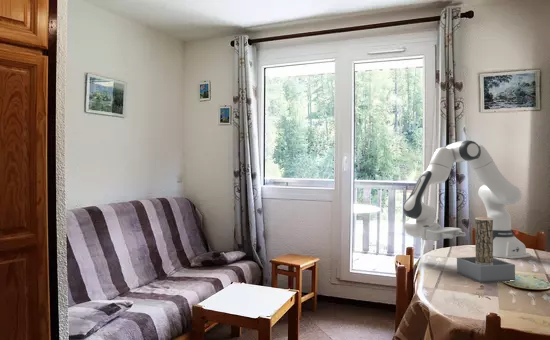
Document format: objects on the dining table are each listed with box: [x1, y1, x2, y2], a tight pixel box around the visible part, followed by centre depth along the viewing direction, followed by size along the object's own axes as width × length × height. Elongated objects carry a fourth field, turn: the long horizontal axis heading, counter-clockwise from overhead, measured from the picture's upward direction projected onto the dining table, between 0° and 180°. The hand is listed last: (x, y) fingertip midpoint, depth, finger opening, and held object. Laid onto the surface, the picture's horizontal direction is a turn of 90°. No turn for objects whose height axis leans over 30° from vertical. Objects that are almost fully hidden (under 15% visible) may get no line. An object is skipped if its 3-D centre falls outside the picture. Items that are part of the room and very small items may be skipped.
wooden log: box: [474, 216, 494, 266], centre depth 169 cm, size 7×7×25 cm
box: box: [456, 256, 516, 284], centre depth 169 cm, size 16×16×7 cm
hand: (458, 235), depth 180 cm, fingers open, 8 cm apart
